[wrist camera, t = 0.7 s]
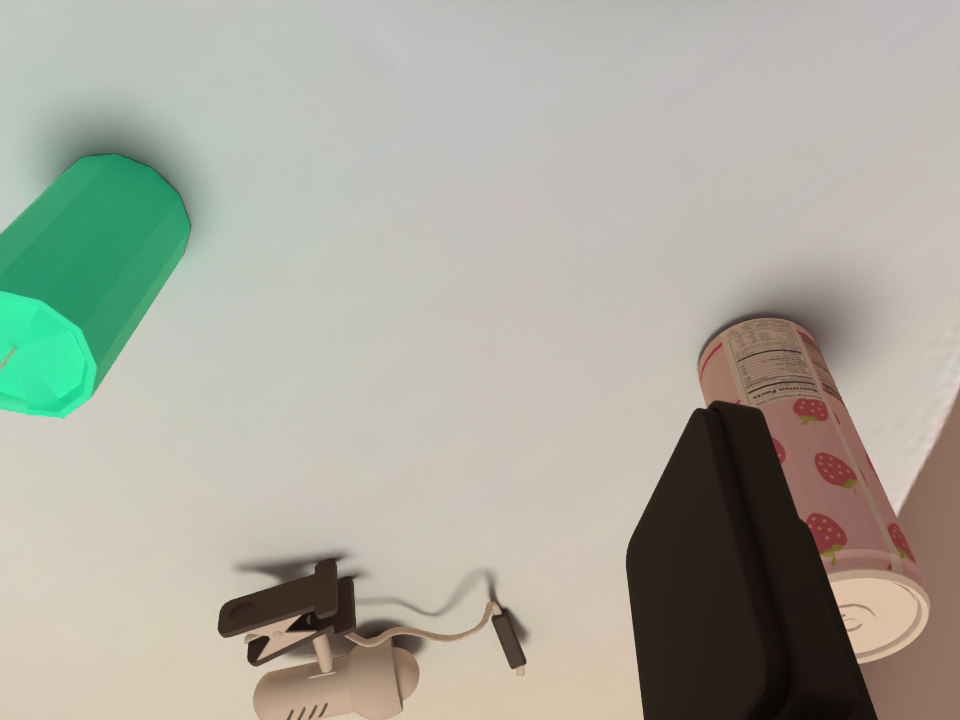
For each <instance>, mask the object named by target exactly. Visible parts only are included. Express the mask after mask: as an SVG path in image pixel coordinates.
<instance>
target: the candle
mask: <svg viewBox="0 0 960 720" xmlns="http://www.w3.org/2000/svg"><path fill="white" fill-rule="evenodd" d="M190 228H191V225H190V222H189V219H188V217H187V214H186V211H185V208H184V205H183V203H182V200H181V197H180V195H179V194H178V193H177V192H176V191H175V190H174V189H173V188H172V187H171V186H170V185H169V184H168V183H167V182H166V181H165V180H164V179H163V178H162V177H161V176H160V175H159V174H158V173H157V172H156V171H155V170H154V169H153V168H151V167H148V166H146V165H143V164H141V163H138V162H136V161H133V160H131V159H128V158H125V157H123V156H120V155H118V154H109V155H98V156H86V157H81V158H80V159H79V160H78V161H77V162H76V163H74V164H73V165H72V166H71V167H70V168H69V169H68V170H66V171H65V172H64V173H63V174H62V175H61V176H60V177H59V178H58V179H56V180H55V181H54V182H53V183H52V184H51V185H50V186H49V187H48V188H47V189H46V190H45V191H44V192H43V193H42V194H41V195H40V196H39V197H38V198H37V199H36V200H35V201H34V202H33V203H32V204H31V205H30V206H29V207H28V208H27V209H26V210H25V211H24V212H23V213H22V214H21V215H19V216H18V217H17V218H16V219H15V220H14V221H13V222H12V223H11V224H10V225H9V226H8V227H7V228H6V229H5V230H4V231H3V232H2V233H1V234H0V409H3V410H8V411H13V412H18V413H23V414H28V415H38V416H48V417H58V418H64V417H66V416H67V415H68V414H70V413H71V412H72V411H74V410H75V409H77V408H78V407H79V406H81V405H82V404H83V403H85V402H86V401H88V400H89V399H90V398H91V397H92V395H93V394H94V392H95V391H96V389H97V388H98V386H99V385H100V383H101V382H102V380H103V378H104V377H105V375H106V374H107V372H108V371H109V369H110V368H111V366H112V364H113V363H114V361H115V360H116V358H117V357H118V355H119V354H120V352H121V351H122V349H123V347H124V346H125V344H126V343H127V341H128V340H129V338H130V337H131V335H132V334H133V332H134V330H135V329H136V327H137V326H138V324H139V323H140V321H141V320H142V318H143V316H144V315H145V313H146V312H147V310H148V309H149V307H150V306H151V304H152V303H153V301H154V299H155V298H156V296H157V295H158V293H159V292H160V290H161V289H162V287H163V285H164V284H165V282H166V281H167V279H168V278H169V276H170V275H171V273H172V272H173V270H174V268H175V267H176V265H177V264H178V262H179V261H180V259H181V258H182V256H183V254H184V252H185V248H186V244H187V240H188V236H189V232H190Z"/></svg>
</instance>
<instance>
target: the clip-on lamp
mask: <svg viewBox="0 0 960 720" xmlns="http://www.w3.org/2000/svg"><path fill="white" fill-rule="evenodd" d="M491 610H493V612H494V614H495V615H494V616H492V622H493V625H494V627H495V630H496V632H497V635H498V637H499V640H500V642H501V645H502V648H503V650H504V653H505V655H506V658H507V660H508V663H509V665H510V667H511V668H512V669H515V668H516V670H517V675H519V676H524V665H525V664H526V658H525V656H524V653H523V651H522V648H521V645H520V643H519V640H518V638H517V635H516V633H515V630H514V628H513V625H512V623H511V620H510V618H509V615H508V613H507V612H506V611H504V612H501V610H500V608H499V606H498V605H497V603H496V602H489V603H487V606H486V609H485V613H484V616H483V619H482V620H481V622H480V623H479V624H478V625H477V626H476V627H475V628H473V629H471V630H469V631H467V632H464V633H461V634H457V635H439V634H434V633H430V632H426V631H422V630H418V629H413V628H407V627H395V628H391V629H389V630H386V631H385V632H383V633H382V634H380V635H379V636H378V637H372V638H369V639H365V638H363V637H360V636H358V635H357V634H355V633H353V632H354V630H355V629H356V617H355V599H354V582H353V581H352V579H351V578H350V577H345V578H343V579H341V580H339V581H337V565H336V563H335V561H334V559H329V560H326V561H323V562H320V563H318V564H317V565H316V566H315V574H314V575H310V576H307V577H304V578H301V579H298V580H294V581H291V582H288V583H285V584H282V585H278V586H275V587H272V588H269V589H265V590H262V591H259V592H256V593H253V594H249V595H246V596H243V597H240V598H237V599H233V600H230V601H229V602H227V603H225V604H224V605H223V606H222V608H221V610H220V614H219V622H218V631H219V633H220V635H221V636H223V637H224V638H227V637H232V636H235V635H238V634H242V633H246V634H248V635H247V636H246V637H245V640H244V643H245V644H248V655H247V658H248V662H249V663H250V664H251V665H253V666H259V665H262V664H264V663H266V662H268V661H270V660H272V659H274V658H276V657H278V656H280V655H282V654H284V653H286V652H289V651H291V650H293V649H295V648H297V647H299V646H301V645H303V644H305V643H307V642H309V641H311V640H312V641H313V644H314V647H315V651H316V654H317V658H318V662H313V663H309V664H304V665H300V666H295V667H290V668H286V669H281V670H276V671H272V672H269V673H267V674H265V675H264V676H263V677H262V678H261V680H260V681H259V682H258V684H257V686H256V689H255V692H254V697H253V704H254V709H255V712H256V714H257V716H258V717H259V719H260V720H317V719H322V718H327V717H332V716H337V715H342V714H347V713H353V712H356V713H357V714H359V715H361V716H363V717H365V718H368V719H372V720H383V719H388V718H391V717H393V716H395V715H398V714H399V713H400V712H402V711H403V700H404V699H406V698H407V697H409V696H410V695H411V694H412V693H413V691H414V690H415V688H416V687H417V684H418V681H419V667H418V664H417V661H416V660H415V658H414V657H413V656H412V654H411V653H409V652H408V651H406V650H405V649H402V648H398V647H394V643H393V639H392V638H391V637H392V636H394V635H398V634H409V635H414V636H419V637H422V638H426V639H430V640H435V641H441V642H451V641H457V640H461V639H464V638H466V637H469V636H471V635H473V634H475V633H476V632H478V631H479V630H480V629H481V628H483V626H484V625H485V624H486V622H487V621H488V618H489V616H490V614H491ZM330 631H334V633H335V635H336V636H337V637H339V638H340V637H343V636H345V637H346V638H348V639H350V640H352V641H354V642H356V643H357V644H358V645H357V646H355V647H354V648H353V649H352V650H351V651H350V653H349V654H348V655H346V656H341V657H336V658H333V655H332V651H331V648H330V644H329V641H328V637H327V634H326V633H328V632H330Z"/></svg>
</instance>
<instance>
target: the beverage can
mask: <svg viewBox="0 0 960 720" xmlns="http://www.w3.org/2000/svg"><path fill="white" fill-rule="evenodd" d="M698 373H699V381H700V385H701V388H702V392H703V396H704V400H705V403H706V407H707V408H708V406H709V405H710V404H711V403H712V402H713V401H715V400H720V401H725V402H730V403H736V404H741V405H746V406H751V407H756V408H759V409H760V410H761V411H762V413H763V414H764V416H765V419H766V422H767V425H768V428H769V431H770V434H771V437H772V440H773V443H774V446H775V449H776V451H777V454H778V457H779V460H780V463H781V466H782V469H783V472H784V475H785V478H786V481H787V484H788V487H789V489H790V492H791V495H792V498H793V501H794V504H795V507H796V510H797V513H798V516H799V518H800V519H802V520H803V521H804V522H805V523H806V524H807V525H808V526H809V528H810V530H811V532H812V534H813V537H814V539H815V542H816V545H817V548H818V551H819V554H820V556H821V559H822V562H823V565H824V568H825V571H826V574H827V576H828V579H829V582H830V585H831V588H832V591H833V593H834V596H835V599H836V602H837V605H838V608H839V610H840V613H841V616H842V619H843V622H844V625H845V628H846V630H847V633H848V636H849V639H850V642H851V645H852V647H853V650H854V653H855V656H856V659H857V662H858V664H860V663H865V662H869V661H873V660H877V659H880V658H883V657H885V656H888V655H890V654H893V653H894V652H896V651H898V650H900V649H902V648H903V647H905V646H907V645H908V644H909V643H911V642H912V641H913V640H914V639H915V638H916V637H917V636H918V635H919V634H920V633H921V632H922V631H923V629H924V627H925V625H926V623H927V620H928V617H929V610H930V602H929V598H928V595H927V594H926V593H925V591H926V584H925V580H924V577H923V574H922V572H921V570H920V568H919V566H918V563H917V561H916V559H915V557H914V555H913V552H912V550H911V548H910V546H909V544H908V542H907V539H906V537H905V535H904V533H903V531H902V529H901V526H900V524H899V522H898V520H897V518H896V515H895V513H894V511H893V509H892V507H891V505H890V502H889V500H888V498H887V496H886V494H885V491H884V489H883V487H882V485H881V483H880V481H879V478H878V476H877V474H876V472H875V470H874V468H873V465H872V463H871V461H870V459H869V457H868V454H867V452H866V450H865V448H864V446H863V444H862V441H861V439H860V437H859V435H858V433H857V430H856V428H855V426H854V424H853V422H852V420H851V417H850V415H849V413H848V411H847V409H846V407H845V404H844V402H843V400H842V398H841V396H840V393H839V391H838V389H837V387H836V385H835V383H834V380H833V378H832V376H831V374H830V372H829V370H828V367H827V365H826V363H825V361H824V359H823V356H822V354H821V352H820V350H819V348H818V346H817V343H816V342H815V340H814V338H813V337H812V335H811V334H810V333H809V332H808V331H807V330H805V329H804V328H803V327H801V326H800V325H798V324H796V323H794V322H791V321H788V320H784V319H778V318H757V319H752V320H748V321H744V322H741V323H739V324H736V325H734V326H732V327H730V328H728V329H727V330H725V331H723V332H722V333H720V334H719V335H718V336H717V337H716V338H715V339H713V340H712V341H711V342H710V344H709V345H708V346H707V348H706V349H705V350H704V352H703V355H702V357H701V359H700V363H699V368H698Z"/></svg>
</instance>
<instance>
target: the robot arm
mask: <svg viewBox="0 0 960 720" xmlns="http://www.w3.org/2000/svg"><path fill="white" fill-rule="evenodd" d="M626 571H627V579H628V588H629V596H630V605H631V613H632V621H633V630H634V638H635V647H636V655H637V664H638V672H639V681H640V689H641V698H642V706H643V714H644V720H878V719H877V716H876V713H875V710H874V707H873V704H872V702H871V699H870V696H869V693H868V690H867V687H866V684H865V682H864V679H863V676H862V673H861V670H860V667H859V665H858V662H857V659H856V656H855V653H854V650H853V647H852V645H851V642H850V639H849V636H848V633H847V630H846V628H845V625H844V622H843V619H842V616H841V613H840V610H839V608H838V605H837V602H836V599H835V596H834V593H833V591H832V588H831V585H830V582H829V579H828V576H827V574H826V571H825V568H824V565H823V562H822V559H821V556H820V554H819V551H818V548H817V545H816V542H815V539H814V537H813V534H812V532H811V530H810V528H809V526H808V525H807V524H806V523H805V522H804V521H803V520H802V519H800V518H799V516H798V513H797V510H796V507H795V504H794V501H793V498H792V495H791V492H790V489H789V487H788V484H787V481H786V478H785V475H784V472H783V469H782V466H781V463H780V460H779V457H778V454H777V451H776V449H775V446H774V443H773V440H772V437H771V434H770V431H769V428H768V425H767V422H766V419H765V416H764V414H763V413H762V411H761V410H760V409H759V408H756V407H751V406H746V405H741V404H736V403H730V402H725V401H720V400H715V401H713V402H712V403H711V404H710V405H709V406H708V408H707V409H702V408H697V409H696V410H695V411H694V412H693V414H692V415H691V417H690V419H689V421H688V423H687V425H686V427H685V429H684V431H683V433H682V435H681V437H680V439H679V442H678V444H677V446H676V448H675V450H674V452H673V454H672V456H671V458H670V460H669V462H668V464H667V466H666V468H665V470H664V472H663V474H662V476H661V478H660V480H659V482H658V484H657V486H656V488H655V490H654V492H653V494H652V496H651V498H650V501H649V503H648V505H647V507H646V509H645V511H644V513H643V515H642V517H641V519H640V521H639V523H638V525H637V527H636V529H635V531H634V533H633V535H632V537H631V539H630V542H629V545H628V549H627V555H626Z"/></svg>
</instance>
